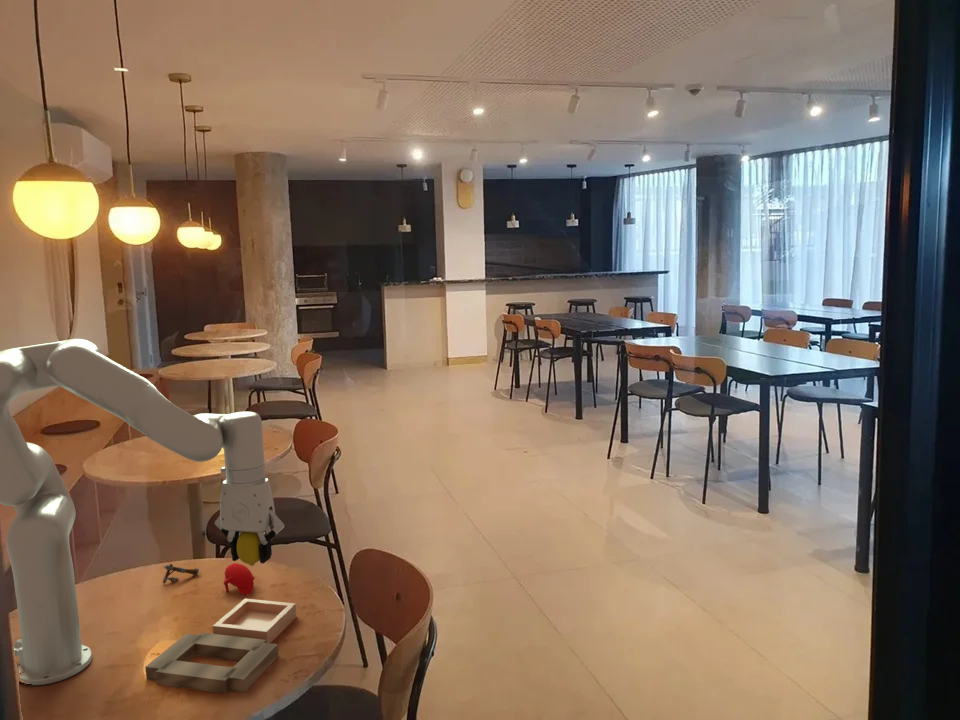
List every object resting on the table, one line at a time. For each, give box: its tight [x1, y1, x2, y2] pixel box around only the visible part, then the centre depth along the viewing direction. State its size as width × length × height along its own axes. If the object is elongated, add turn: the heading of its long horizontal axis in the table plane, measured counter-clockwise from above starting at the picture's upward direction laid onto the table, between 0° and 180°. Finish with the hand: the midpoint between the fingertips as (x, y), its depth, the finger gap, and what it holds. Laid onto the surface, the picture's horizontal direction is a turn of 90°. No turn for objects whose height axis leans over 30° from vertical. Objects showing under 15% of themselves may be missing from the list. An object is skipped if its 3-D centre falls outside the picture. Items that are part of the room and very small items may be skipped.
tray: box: [212, 598, 297, 643], centre depth 152 cm, size 12×12×3 cm
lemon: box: [237, 532, 261, 567], centre depth 150 cm, size 6×6×8 cm
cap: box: [223, 562, 256, 596], centre depth 169 cm, size 8×6×6 cm
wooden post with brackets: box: [162, 563, 200, 584], centre depth 175 cm, size 2×8×4 cm, turn 129°
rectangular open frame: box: [144, 632, 279, 695], centre depth 137 cm, size 20×14×2 cm
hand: (251, 558), depth 150 cm, fingers closed on lemon, 5 cm apart
